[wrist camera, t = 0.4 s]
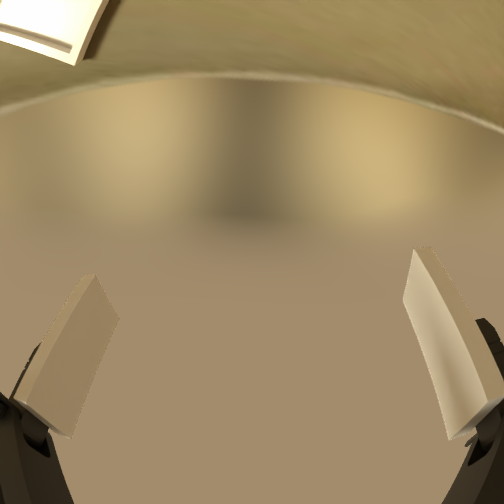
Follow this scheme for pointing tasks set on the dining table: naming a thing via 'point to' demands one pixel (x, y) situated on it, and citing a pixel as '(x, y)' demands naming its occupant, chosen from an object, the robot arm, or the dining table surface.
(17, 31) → the tray
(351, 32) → the dining table surface
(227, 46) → the dining table surface
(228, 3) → the dining table surface
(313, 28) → the dining table surface
